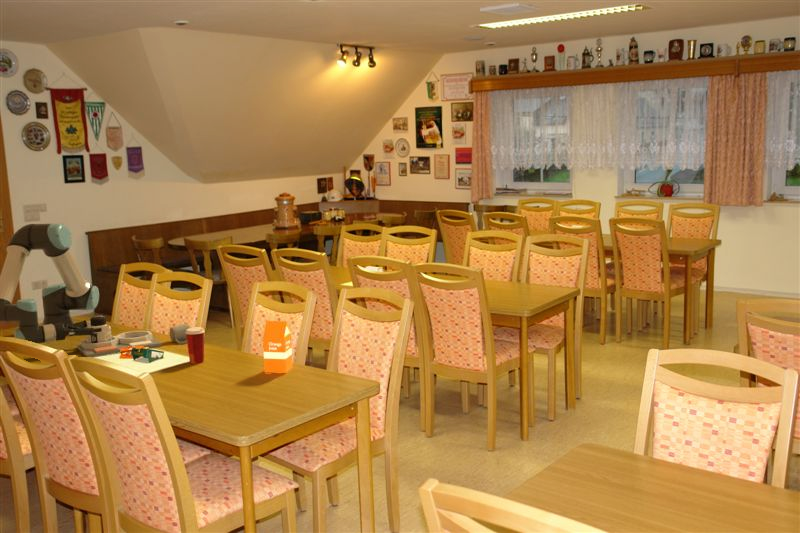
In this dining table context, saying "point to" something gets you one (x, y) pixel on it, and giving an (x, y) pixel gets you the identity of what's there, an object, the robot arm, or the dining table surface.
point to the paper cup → (195, 344)
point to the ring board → (93, 354)
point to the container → (99, 337)
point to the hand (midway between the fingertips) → (105, 325)
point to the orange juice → (277, 347)
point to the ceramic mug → (179, 334)
